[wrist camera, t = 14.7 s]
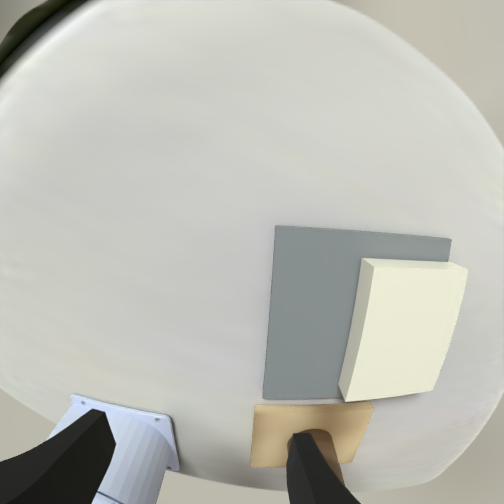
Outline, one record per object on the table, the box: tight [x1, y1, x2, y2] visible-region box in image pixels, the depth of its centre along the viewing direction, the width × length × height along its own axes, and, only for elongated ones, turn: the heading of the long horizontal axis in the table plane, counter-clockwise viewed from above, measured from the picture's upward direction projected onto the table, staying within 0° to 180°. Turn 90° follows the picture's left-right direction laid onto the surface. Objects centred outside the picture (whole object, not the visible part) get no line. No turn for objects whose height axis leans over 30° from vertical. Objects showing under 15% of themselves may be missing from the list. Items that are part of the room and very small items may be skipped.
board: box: [250, 401, 374, 467], centre depth 20 cm, size 9×7×1 cm
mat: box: [263, 225, 451, 399], centre depth 18 cm, size 12×12×1 cm
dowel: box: [287, 429, 345, 486], centre depth 16 cm, size 4×4×7 cm
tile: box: [338, 258, 469, 402], centre depth 17 cm, size 2×9×7 cm
